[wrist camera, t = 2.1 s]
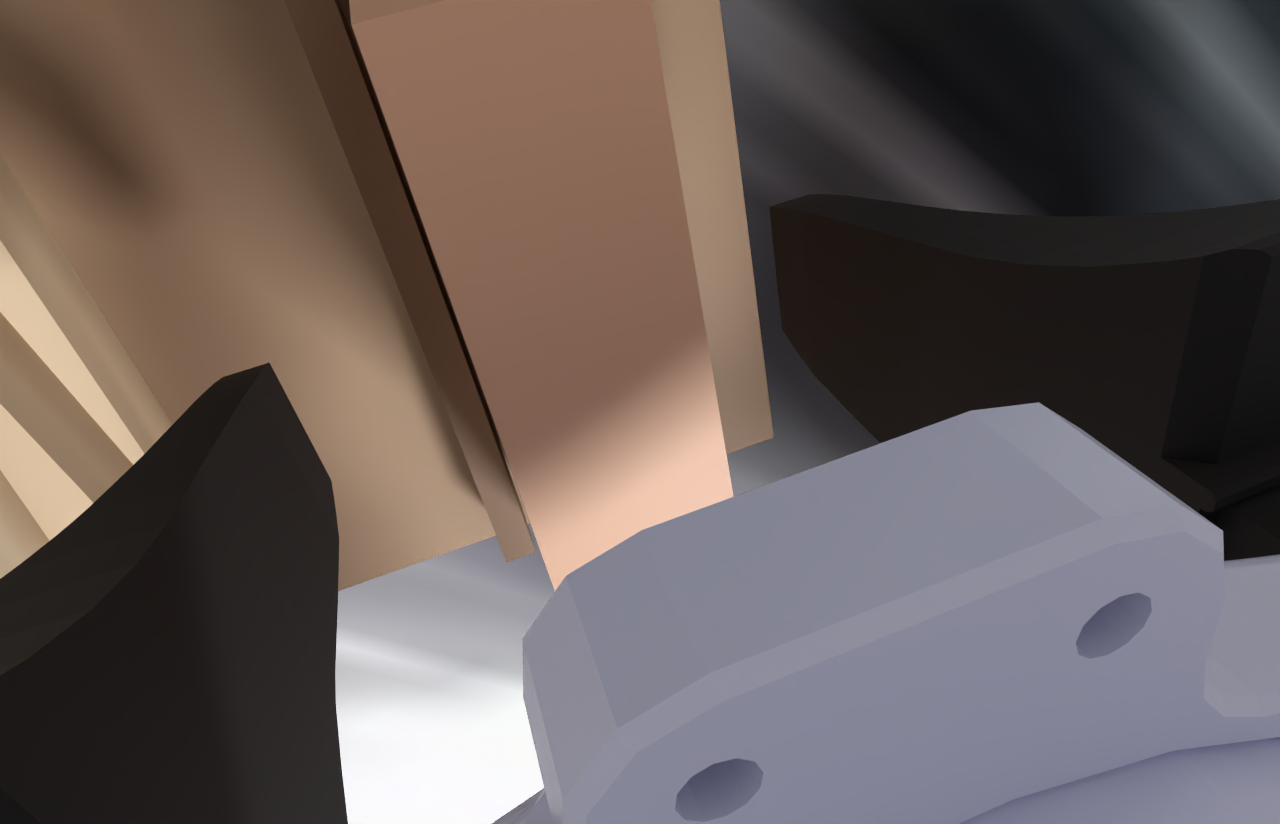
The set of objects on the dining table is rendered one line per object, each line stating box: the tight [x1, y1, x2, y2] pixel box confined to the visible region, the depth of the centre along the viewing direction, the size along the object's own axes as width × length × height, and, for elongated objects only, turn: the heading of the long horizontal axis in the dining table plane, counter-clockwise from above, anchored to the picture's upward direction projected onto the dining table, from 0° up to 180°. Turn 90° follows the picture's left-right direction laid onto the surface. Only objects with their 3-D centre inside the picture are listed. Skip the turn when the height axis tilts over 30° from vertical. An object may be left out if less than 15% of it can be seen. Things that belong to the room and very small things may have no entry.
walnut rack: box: [0, 0, 774, 591], centre depth 14 cm, size 19×12×2 cm, turn 101°
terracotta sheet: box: [349, 0, 733, 591], centre depth 12 cm, size 2×10×8 cm, turn 11°
